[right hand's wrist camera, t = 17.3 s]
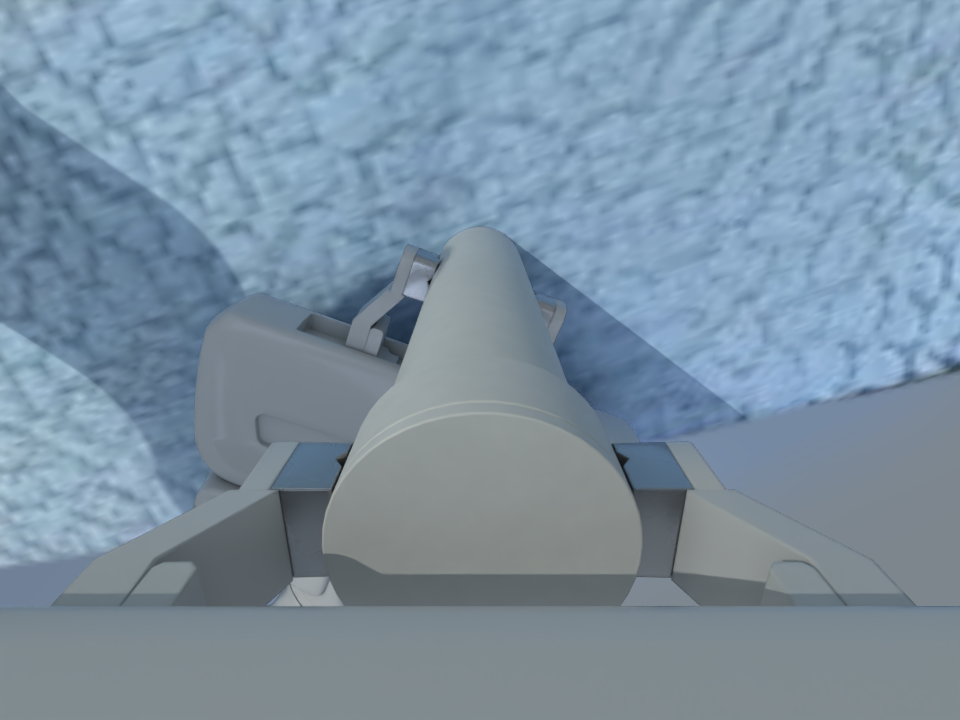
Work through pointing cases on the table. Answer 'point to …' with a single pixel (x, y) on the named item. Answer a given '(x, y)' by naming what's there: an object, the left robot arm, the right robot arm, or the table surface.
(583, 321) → the table surface
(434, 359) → the tall grey cylinder
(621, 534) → the lid
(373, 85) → the table surface
